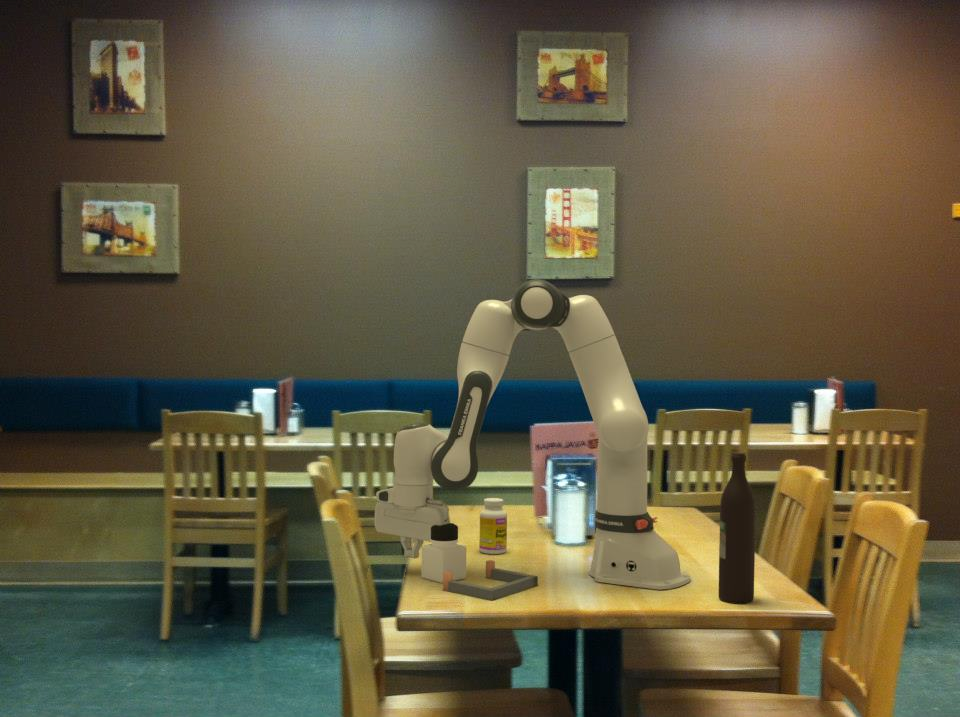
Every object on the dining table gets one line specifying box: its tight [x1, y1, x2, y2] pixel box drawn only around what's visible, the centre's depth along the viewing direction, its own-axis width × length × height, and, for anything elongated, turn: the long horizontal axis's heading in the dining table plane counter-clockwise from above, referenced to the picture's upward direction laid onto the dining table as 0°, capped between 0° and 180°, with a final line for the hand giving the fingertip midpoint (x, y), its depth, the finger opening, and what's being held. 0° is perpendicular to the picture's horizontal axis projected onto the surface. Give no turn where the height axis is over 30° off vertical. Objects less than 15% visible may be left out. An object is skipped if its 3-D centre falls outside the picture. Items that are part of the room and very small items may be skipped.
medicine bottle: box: [421, 522, 467, 584], centre depth 237 cm, size 7×7×12 cm
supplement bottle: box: [478, 497, 508, 555], centre depth 263 cm, size 7×7×13 cm
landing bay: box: [442, 560, 539, 601], centre depth 229 cm, size 13×16×4 cm
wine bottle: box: [718, 452, 757, 604], centre depth 220 cm, size 7×7×30 cm
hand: (411, 557), depth 242 cm, fingers closed
